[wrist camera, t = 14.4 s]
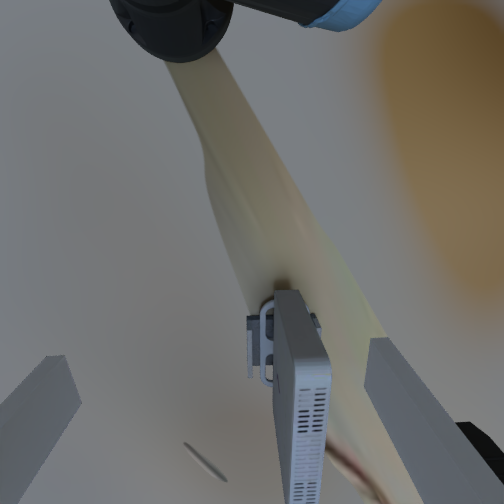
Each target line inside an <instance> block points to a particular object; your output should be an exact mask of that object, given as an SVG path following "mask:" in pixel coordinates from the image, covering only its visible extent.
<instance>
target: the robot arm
mask: <svg viewBox="0 0 504 504" xmlns="http://www.w3.org/2000/svg"><path fill="white" fill-rule="evenodd" d="M109 1H110V3H111V6H112V8H113V10H114V12H115V14H116V16H117V18H118V19H119V21H120V23H121V24H122V26H123V27H124V28H125V30H126V31H127V32H128V33H129V34H130V36H131V37H132V38H133V39H134V40H135V41H136V42H137V43H138V45H140V46H141V47H142V48H143V49H144V50H146V51H147V52H148V53H150V54H152V55H154V56H155V57H157V58H160V59H162V60H165V61H169V62H176V63H183V62H190V61H194V60H197V59H199V58H201V57H203V56H205V55H206V54H208V53H209V52H210V51H212V50H213V49H214V48H215V47H216V46H217V44H218V43H219V42H220V40H221V39H222V38H223V36H224V34H225V32H226V30H227V28H228V26H229V23H230V20H231V16H232V12H233V6H234V3H236V4H239V5H242V6H246V7H249V8H252V9H256V10H259V11H262V12H265V13H269V14H272V15H275V16H279V17H282V18H285V19H288V20H292V21H295V22H298V24H299V25H301V26H302V27H304V28H307V27H309V28H312V27H318V28H322V29H326V30H331V31H335V32H340V31H346V30H348V29H352V28H354V27H355V26H357V25H358V24H360V23H361V22H362V21H363V20H364V19H366V18H367V17H368V16H369V15H370V14H371V13H372V12H373V11H374V10H375V8H376V7H377V6H378V5H379V3H380V2H381V1H382V0H109ZM364 388H365V390H366V392H367V393H368V395H369V397H370V399H371V401H372V403H373V405H374V407H375V409H376V411H377V413H378V415H379V417H380V419H381V421H382V423H383V425H384V427H385V428H386V430H387V432H388V434H389V436H390V438H391V440H392V442H393V444H394V446H395V448H396V450H397V452H398V454H399V456H400V458H401V460H402V461H403V463H404V465H405V467H406V469H407V471H408V473H409V475H410V477H411V479H412V481H413V483H414V485H415V487H416V489H417V491H418V493H419V495H420V496H421V498H422V500H423V502H424V504H504V453H503V452H502V451H501V450H500V448H499V447H498V446H497V445H496V444H495V443H494V441H493V440H492V439H491V438H490V437H489V436H488V435H486V434H485V433H484V432H483V431H481V430H480V429H478V428H477V427H476V426H475V425H473V424H472V423H471V422H457V423H456V422H454V421H453V420H452V418H451V417H450V416H449V415H448V413H447V412H446V411H445V409H444V408H443V407H442V406H441V404H440V403H439V402H438V400H437V399H436V398H435V397H434V395H433V394H432V393H431V392H430V390H429V389H428V388H427V387H426V385H425V384H424V383H423V382H422V380H421V379H420V377H419V376H418V375H417V374H416V372H415V371H414V370H413V368H412V367H411V366H410V365H409V364H408V362H407V361H406V360H405V358H404V357H403V356H402V355H401V353H400V352H399V351H398V349H397V348H396V347H395V345H394V344H393V343H392V342H391V340H390V339H389V338H388V337H385V338H371V340H370V347H369V354H368V361H367V368H366V375H365V382H364ZM81 404H82V402H81V399H80V396H79V393H78V391H77V388H76V385H75V382H74V379H73V377H72V374H71V371H70V368H69V366H68V363H67V360H66V357H65V355H61V356H46V357H45V359H44V360H43V361H42V362H41V363H40V364H39V365H38V366H37V367H36V368H35V369H34V370H33V371H32V372H31V373H30V374H29V375H28V376H27V377H26V378H25V379H24V380H23V381H22V383H21V384H20V385H19V386H18V387H17V388H16V389H15V390H14V391H13V392H12V393H11V394H10V395H9V396H8V397H7V398H6V399H5V400H4V401H3V402H2V403H1V404H0V504H18V502H19V501H20V499H21V498H22V496H23V494H24V493H25V491H26V490H27V488H28V487H29V485H30V483H31V482H32V480H33V479H34V477H35V476H36V474H37V472H38V471H39V469H40V468H41V466H42V465H43V463H44V462H45V460H46V458H47V457H48V455H49V454H50V452H51V451H52V449H53V447H54V446H55V444H56V443H57V441H58V440H59V438H60V436H61V435H62V433H63V432H64V430H65V429H66V427H67V426H68V424H69V422H70V421H71V419H72V418H73V416H74V414H75V413H76V412H77V410H78V408H79V407H80V405H81Z"/></svg>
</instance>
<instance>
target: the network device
mask: <svg viewBox="0 0 504 504" xmlns="http://www.w3.org/2000/svg"><path fill="white" fill-rule="evenodd" d="M270 308H274V338H268V337H267V336H266V311H267V310H268V309H270ZM269 354H273V380H268V379H267V378H266V377H265V359H266V357H267V355H269ZM260 378H261V381H262V382H263V383H264V384H265V385H267V386H270V387H273V414H274V420H275V429H276V436H277V444H278V452H279V460H280V468H281V475H282V484H283V491H284V499H285V504H319V496H320V486H321V478H322V468H323V458H324V449H325V439H326V430H327V420H328V411H329V401H330V392H331V382H332V370H331V364H330V360H329V357H328V354H327V352H326V350H325V348H324V345H323V343H322V341H321V339H320V337H319V334H318V332H317V330H316V328H315V325H314V323H313V321H312V319H311V316H310V312H309V309H308V307H307V305H306V304H305V303H304V301H303V299H302V296H301V294H300V292H299V290H275V292H274V300H271V301H269V302H267V303H266V304H264V305H263V307H262V308H261V311H260Z"/></svg>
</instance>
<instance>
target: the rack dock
mask: <svg viewBox="0 0 504 504" xmlns="http://www.w3.org/2000/svg"><path fill="white" fill-rule="evenodd" d="M310 316H311V319H312V321H313V323H314V325H315V328H316V330H317V332H318V334H319V337H320V339H321V329H322V328H321V326H320V324H319V322H318V319H317V317H316V315H315V314H310ZM266 336H267V337H268V338H274V315H266ZM247 361H248V378H253V376H252V366H259V365H260V315H257V316H247ZM265 365H273V354H269V355H267V357H266V359H265Z"/></svg>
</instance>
